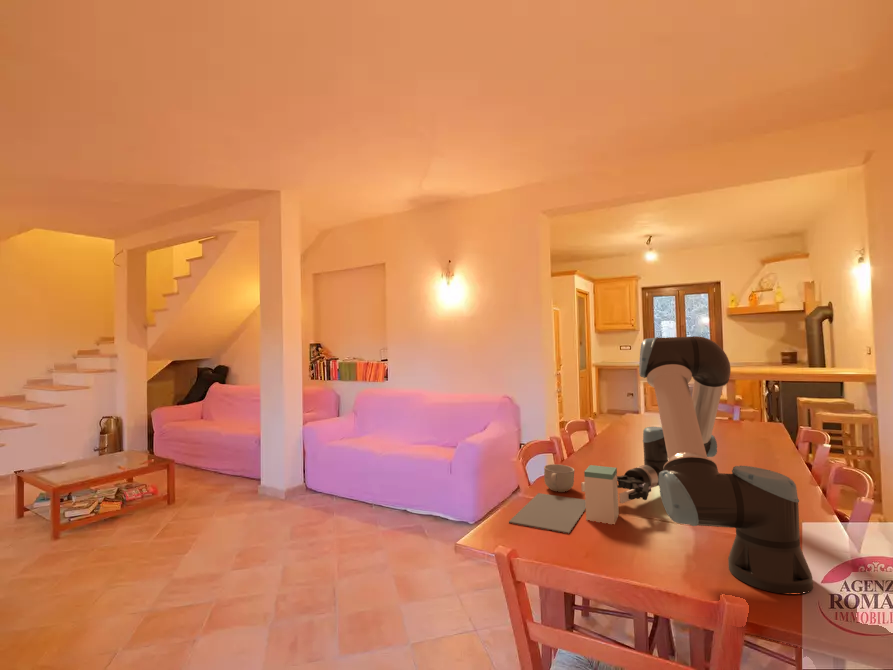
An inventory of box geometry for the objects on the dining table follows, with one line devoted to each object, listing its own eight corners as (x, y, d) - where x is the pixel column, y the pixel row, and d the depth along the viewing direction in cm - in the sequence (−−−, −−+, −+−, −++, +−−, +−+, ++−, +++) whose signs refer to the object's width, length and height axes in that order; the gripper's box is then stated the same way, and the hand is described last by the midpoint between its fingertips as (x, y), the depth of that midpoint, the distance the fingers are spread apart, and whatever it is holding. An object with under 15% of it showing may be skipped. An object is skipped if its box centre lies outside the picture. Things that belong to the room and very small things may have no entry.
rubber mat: (569, 534, 123) (569, 532, 123) (508, 523, 132) (508, 521, 132) (590, 501, 148) (590, 500, 148) (538, 494, 156) (538, 493, 156)
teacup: (552, 483, 169) (552, 462, 169) (580, 488, 162) (579, 466, 162) (535, 493, 158) (534, 470, 158) (563, 499, 151) (562, 475, 151)
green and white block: (614, 524, 129) (612, 474, 129) (586, 520, 133) (584, 471, 133) (618, 515, 136) (616, 467, 136) (591, 511, 140) (590, 465, 140)
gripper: (678, 500, 136) (639, 517, 124) (608, 481, 157) (568, 494, 145) (677, 475, 137) (638, 490, 125) (607, 460, 157) (567, 471, 145)
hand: (600, 492), depth 135 cm, fingers open, 13 cm apart
